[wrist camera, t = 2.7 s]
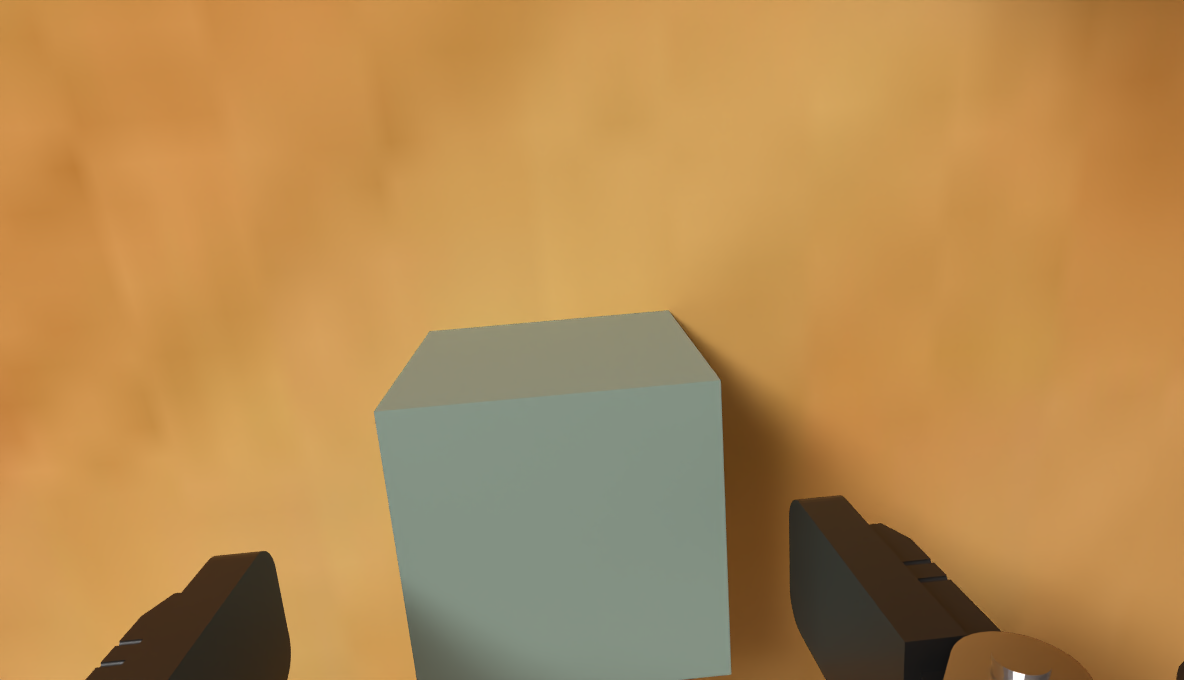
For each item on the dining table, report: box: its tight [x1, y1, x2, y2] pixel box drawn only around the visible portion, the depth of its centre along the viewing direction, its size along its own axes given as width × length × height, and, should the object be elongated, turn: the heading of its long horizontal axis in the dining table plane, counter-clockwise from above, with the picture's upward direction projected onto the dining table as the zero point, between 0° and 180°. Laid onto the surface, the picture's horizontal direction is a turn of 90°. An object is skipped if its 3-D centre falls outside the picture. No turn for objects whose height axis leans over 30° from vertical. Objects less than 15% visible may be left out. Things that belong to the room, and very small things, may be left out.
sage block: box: [374, 310, 731, 680], centre depth 15 cm, size 6×6×6 cm
